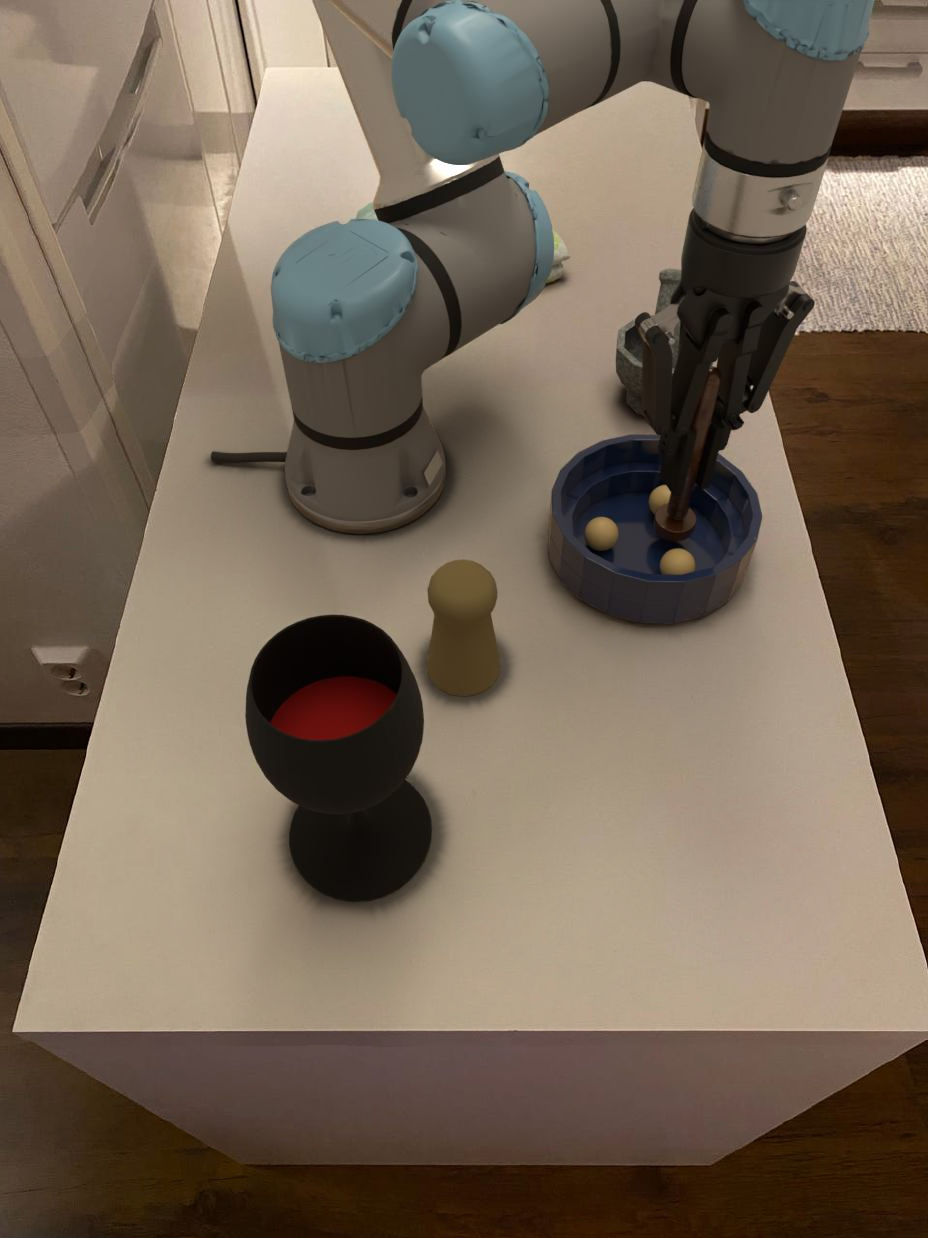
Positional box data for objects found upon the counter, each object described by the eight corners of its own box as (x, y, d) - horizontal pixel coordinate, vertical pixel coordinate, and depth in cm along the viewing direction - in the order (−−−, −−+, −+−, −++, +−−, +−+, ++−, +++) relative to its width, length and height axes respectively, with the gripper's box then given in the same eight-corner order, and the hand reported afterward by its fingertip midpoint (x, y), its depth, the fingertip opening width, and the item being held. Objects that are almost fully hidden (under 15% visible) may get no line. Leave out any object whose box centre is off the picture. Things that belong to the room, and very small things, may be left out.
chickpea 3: (659, 590, 81) (664, 567, 79) (655, 564, 83) (660, 540, 81) (694, 590, 81) (700, 567, 79) (689, 564, 83) (696, 541, 81)
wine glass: (432, 767, 72) (419, 599, 56) (433, 900, 65) (420, 753, 50) (294, 771, 72) (243, 605, 56) (282, 905, 65) (221, 760, 49)
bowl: (550, 626, 80) (555, 580, 75) (545, 481, 91) (549, 433, 86) (760, 629, 79) (778, 583, 75) (730, 483, 90) (744, 435, 86)
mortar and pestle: (701, 434, 95) (726, 331, 85) (607, 426, 96) (621, 323, 86) (700, 365, 102) (723, 262, 92) (613, 358, 103) (626, 256, 93)
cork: (458, 624, 80) (456, 534, 71) (515, 661, 78) (520, 572, 69) (411, 669, 77) (403, 582, 69) (469, 709, 75) (468, 623, 66)
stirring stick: (654, 541, 83) (690, 383, 69) (651, 511, 85) (685, 353, 71) (696, 541, 83) (740, 384, 69) (691, 512, 85) (733, 353, 71)
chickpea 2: (651, 525, 86) (650, 495, 84) (647, 510, 88) (646, 481, 87) (685, 521, 85) (684, 491, 84) (680, 507, 88) (679, 477, 86)
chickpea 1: (583, 557, 84) (586, 534, 82) (581, 533, 86) (584, 509, 83) (617, 558, 84) (621, 534, 81) (615, 533, 86) (619, 510, 83)
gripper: (671, 266, 57) (621, 533, 76) (882, 224, 60) (784, 491, 79) (619, 205, 62) (585, 471, 80) (819, 168, 65) (740, 434, 83)
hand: (684, 481), depth 79 cm, fingers closed on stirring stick, 2 cm apart
